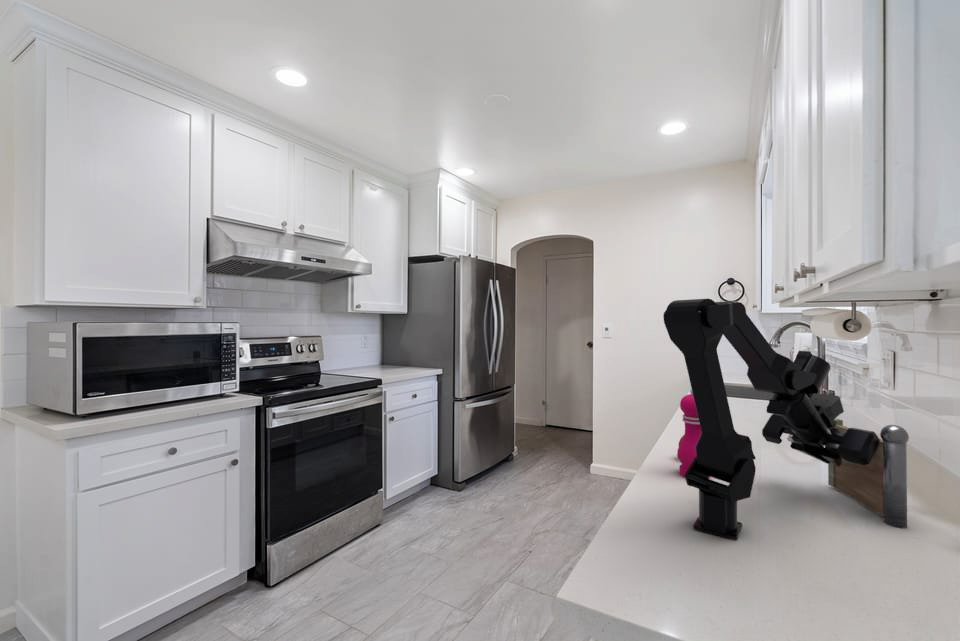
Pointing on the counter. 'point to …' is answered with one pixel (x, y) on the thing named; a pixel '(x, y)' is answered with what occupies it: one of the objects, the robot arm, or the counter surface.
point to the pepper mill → (689, 433)
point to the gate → (860, 477)
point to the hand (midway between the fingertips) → (834, 463)
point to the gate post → (894, 475)
